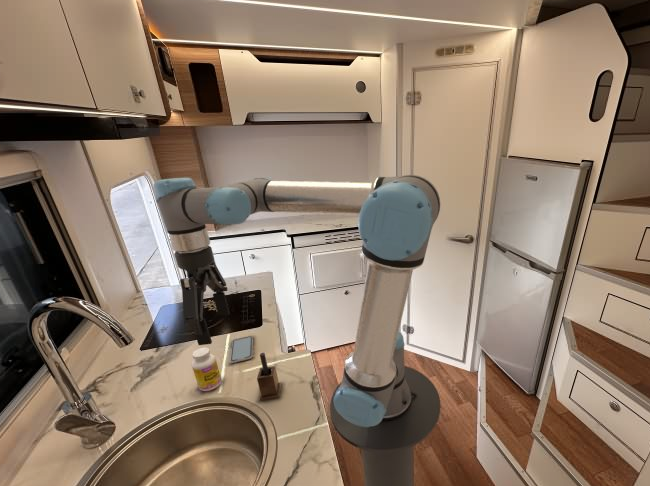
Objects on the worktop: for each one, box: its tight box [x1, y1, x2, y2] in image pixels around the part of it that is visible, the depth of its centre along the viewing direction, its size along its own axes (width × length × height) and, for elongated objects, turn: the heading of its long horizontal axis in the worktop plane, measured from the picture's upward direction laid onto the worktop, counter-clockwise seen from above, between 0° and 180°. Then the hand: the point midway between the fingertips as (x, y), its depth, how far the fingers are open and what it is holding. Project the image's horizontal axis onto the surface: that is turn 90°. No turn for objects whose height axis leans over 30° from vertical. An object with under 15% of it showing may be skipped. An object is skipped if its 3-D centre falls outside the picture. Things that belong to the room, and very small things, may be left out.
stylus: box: [259, 352, 269, 376], centre depth 95 cm, size 1×1×14 cm
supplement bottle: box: [191, 347, 222, 392], centre depth 100 cm, size 7×7×13 cm
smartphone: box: [229, 335, 254, 364], centre depth 119 cm, size 7×1×15 cm
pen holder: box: [256, 365, 282, 402], centre depth 96 cm, size 6×6×8 cm
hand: (215, 328), depth 80 cm, fingers open, 13 cm apart
